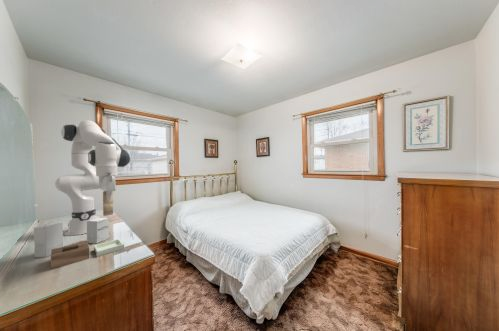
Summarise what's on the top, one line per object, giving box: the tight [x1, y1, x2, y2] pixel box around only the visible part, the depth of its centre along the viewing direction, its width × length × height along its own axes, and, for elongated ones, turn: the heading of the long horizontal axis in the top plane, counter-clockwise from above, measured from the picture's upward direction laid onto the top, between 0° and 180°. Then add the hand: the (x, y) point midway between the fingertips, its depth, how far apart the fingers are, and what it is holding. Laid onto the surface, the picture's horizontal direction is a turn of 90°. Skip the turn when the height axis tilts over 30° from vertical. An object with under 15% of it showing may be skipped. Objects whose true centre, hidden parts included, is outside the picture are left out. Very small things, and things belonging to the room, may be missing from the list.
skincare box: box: [33, 221, 64, 258], centre depth 89 cm, size 8×6×15 cm
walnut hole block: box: [50, 240, 90, 271], centre depth 83 cm, size 12×12×5 cm
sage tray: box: [93, 238, 125, 258], centre depth 92 cm, size 11×11×2 cm
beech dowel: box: [102, 191, 114, 217], centre depth 92 cm, size 4×4×12 cm
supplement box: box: [86, 217, 110, 244], centre depth 104 cm, size 7×7×13 cm
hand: (107, 199), depth 92 cm, fingers closed on beech dowel, 4 cm apart
